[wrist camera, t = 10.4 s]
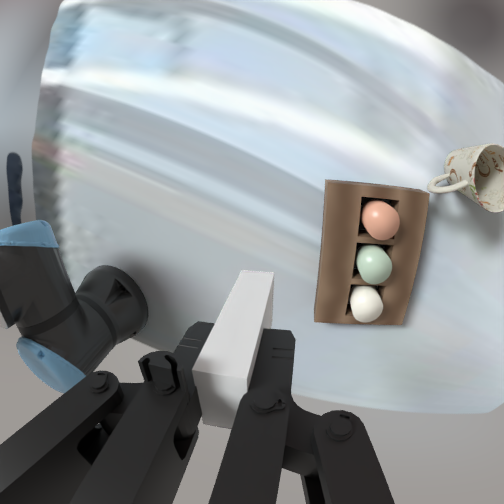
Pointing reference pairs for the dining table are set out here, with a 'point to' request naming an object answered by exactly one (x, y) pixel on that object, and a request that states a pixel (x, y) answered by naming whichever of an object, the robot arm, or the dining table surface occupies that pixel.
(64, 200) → the dining table surface
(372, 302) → the button cream
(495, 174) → the mug
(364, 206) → the button terracotta
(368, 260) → the button sage
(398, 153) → the dining table surface
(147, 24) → the dining table surface
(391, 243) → the button panel
